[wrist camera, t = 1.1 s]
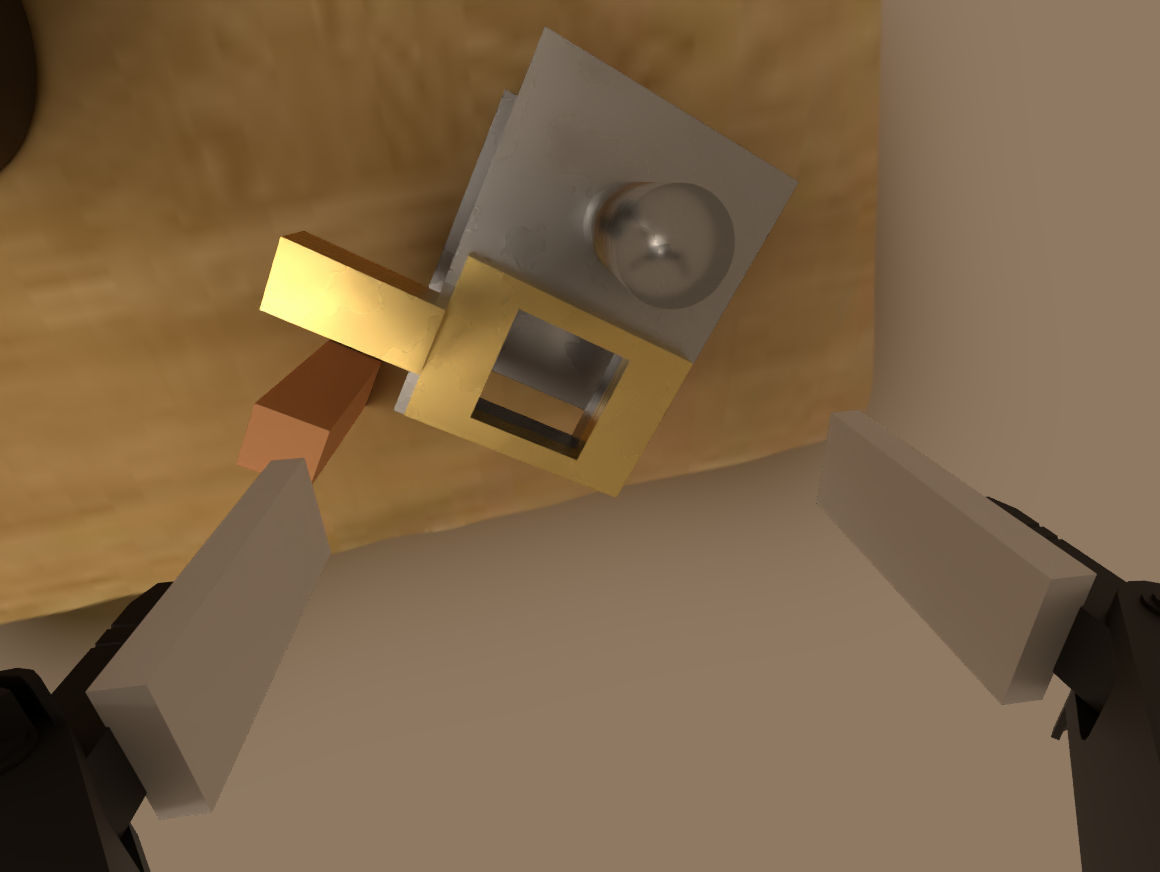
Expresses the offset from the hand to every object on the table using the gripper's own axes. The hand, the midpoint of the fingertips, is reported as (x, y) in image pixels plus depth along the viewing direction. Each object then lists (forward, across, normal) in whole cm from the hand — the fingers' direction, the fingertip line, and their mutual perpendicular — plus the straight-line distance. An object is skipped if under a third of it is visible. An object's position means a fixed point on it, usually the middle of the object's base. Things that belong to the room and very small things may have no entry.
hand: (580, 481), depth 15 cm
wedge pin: (+20, -11, -3) cm, 23 cm away
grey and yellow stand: (+20, 0, +3) cm, 20 cm away
